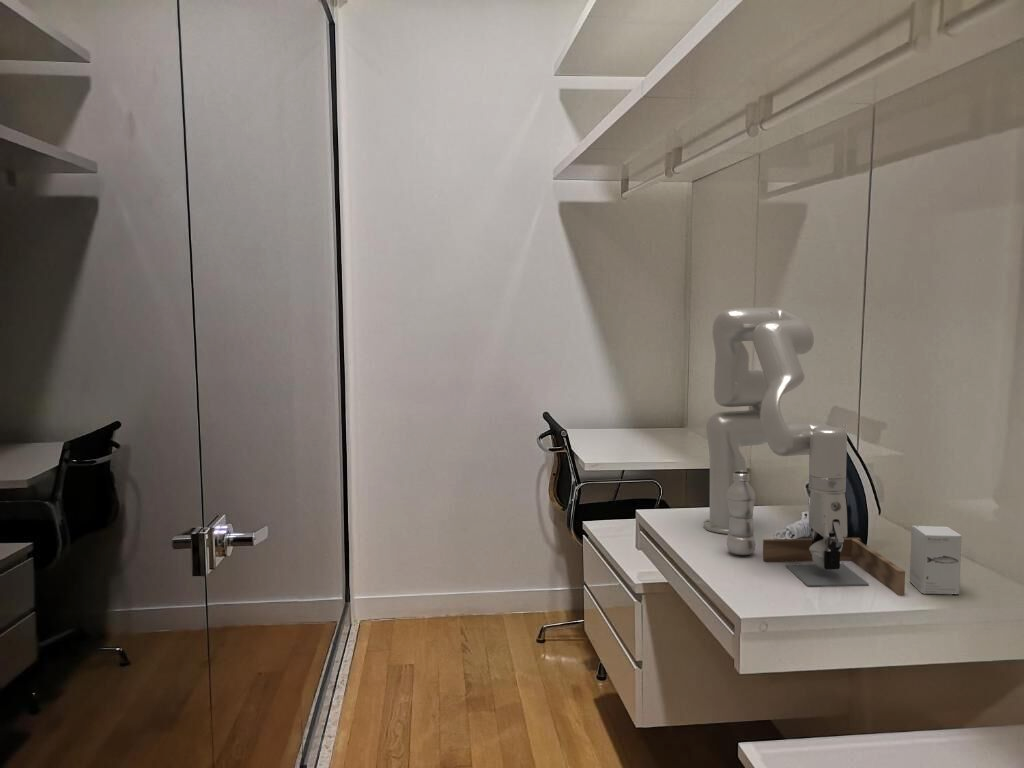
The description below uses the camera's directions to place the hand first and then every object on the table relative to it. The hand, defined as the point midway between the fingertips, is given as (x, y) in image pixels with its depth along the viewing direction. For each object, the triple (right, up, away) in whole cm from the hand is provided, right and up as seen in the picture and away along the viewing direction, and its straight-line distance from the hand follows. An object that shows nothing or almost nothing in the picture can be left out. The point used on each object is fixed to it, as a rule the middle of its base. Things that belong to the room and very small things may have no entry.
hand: (825, 562), depth 170 cm
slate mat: (0, -3, 0) cm, 3 cm away
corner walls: (+1, -3, 0) cm, 3 cm away
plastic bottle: (-14, -2, +16) cm, 21 cm away
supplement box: (+19, -4, -9) cm, 21 cm away
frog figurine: (0, -1, 0) cm, 1 cm away
